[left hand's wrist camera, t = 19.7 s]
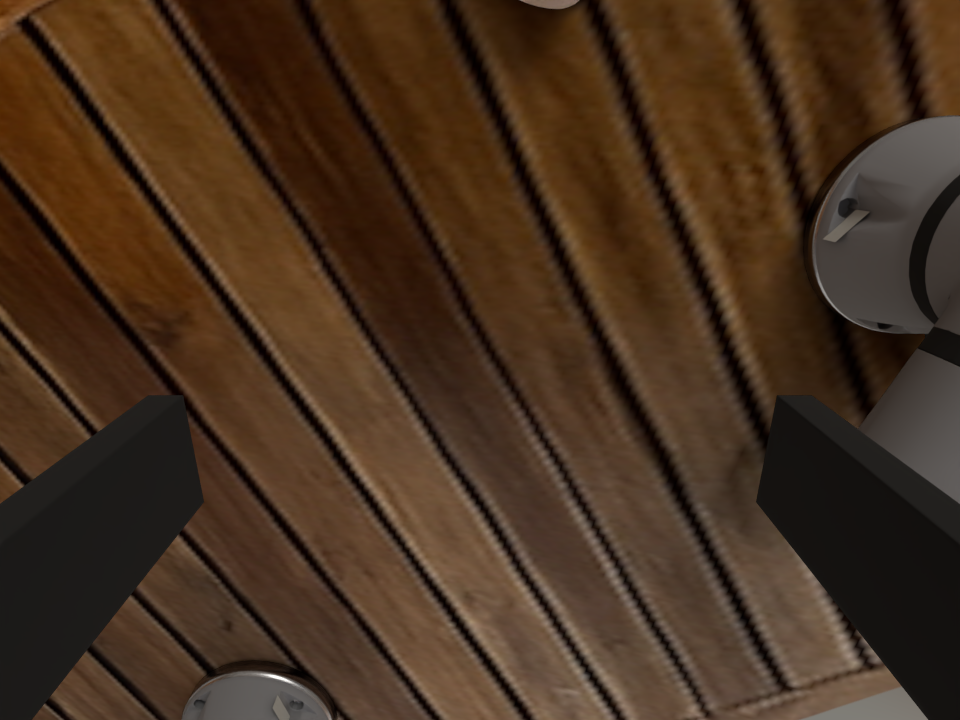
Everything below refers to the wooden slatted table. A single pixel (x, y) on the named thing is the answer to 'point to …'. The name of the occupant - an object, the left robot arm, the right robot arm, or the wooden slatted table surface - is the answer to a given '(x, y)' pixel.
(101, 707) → the wooden slatted table surface
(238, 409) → the wooden slatted table surface
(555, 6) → the anatomical model
